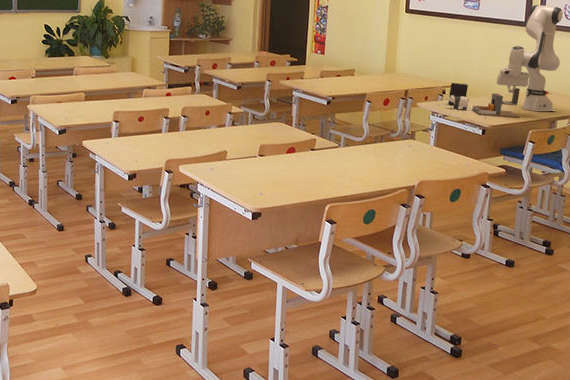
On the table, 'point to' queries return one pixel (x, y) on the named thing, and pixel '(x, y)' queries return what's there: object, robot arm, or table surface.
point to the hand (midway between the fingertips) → (510, 92)
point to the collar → (490, 107)
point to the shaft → (513, 98)
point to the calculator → (458, 91)
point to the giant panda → (459, 102)
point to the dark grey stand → (497, 111)
